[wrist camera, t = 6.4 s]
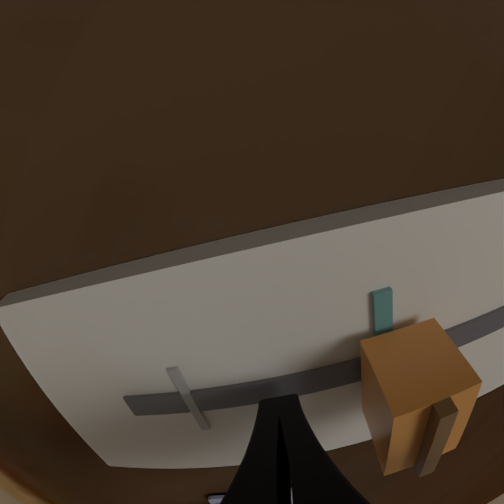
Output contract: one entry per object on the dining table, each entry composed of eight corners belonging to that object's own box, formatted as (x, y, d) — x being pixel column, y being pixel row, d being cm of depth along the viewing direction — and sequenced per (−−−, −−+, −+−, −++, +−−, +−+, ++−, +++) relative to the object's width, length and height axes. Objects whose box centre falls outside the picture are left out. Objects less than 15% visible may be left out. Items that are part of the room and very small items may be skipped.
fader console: (526, 350, 14) (540, 365, 13) (114, 448, 17) (108, 468, 15) (557, 168, 10) (580, 176, 8) (8, 293, 12) (-11, 311, 10)
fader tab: (424, 387, 12) (460, 459, 8) (361, 408, 12) (387, 488, 8) (433, 317, 10) (491, 394, 6) (359, 340, 10) (400, 433, 7)
